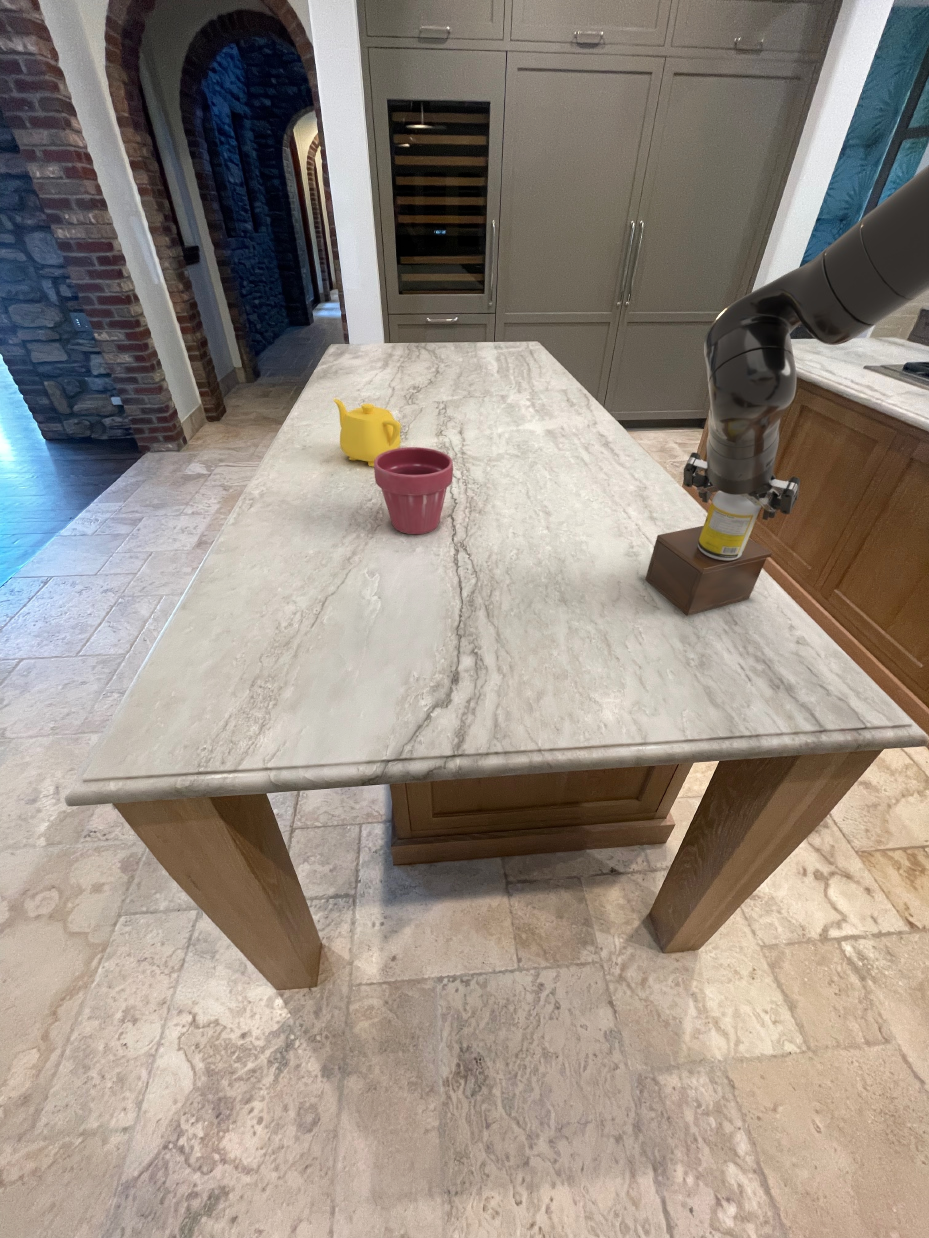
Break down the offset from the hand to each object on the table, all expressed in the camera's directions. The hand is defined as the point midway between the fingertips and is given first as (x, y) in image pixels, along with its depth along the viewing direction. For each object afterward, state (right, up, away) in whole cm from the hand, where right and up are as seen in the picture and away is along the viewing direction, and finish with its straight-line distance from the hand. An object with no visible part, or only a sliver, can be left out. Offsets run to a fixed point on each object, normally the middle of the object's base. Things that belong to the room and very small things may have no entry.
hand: (736, 505), depth 78 cm
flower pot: (-49, +2, +26) cm, 56 cm away
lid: (-1, -6, +6) cm, 8 cm away
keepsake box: (-1, -12, +11) cm, 16 cm away
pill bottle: (-1, -6, +4) cm, 7 cm away
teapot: (-63, +23, +52) cm, 85 cm away
